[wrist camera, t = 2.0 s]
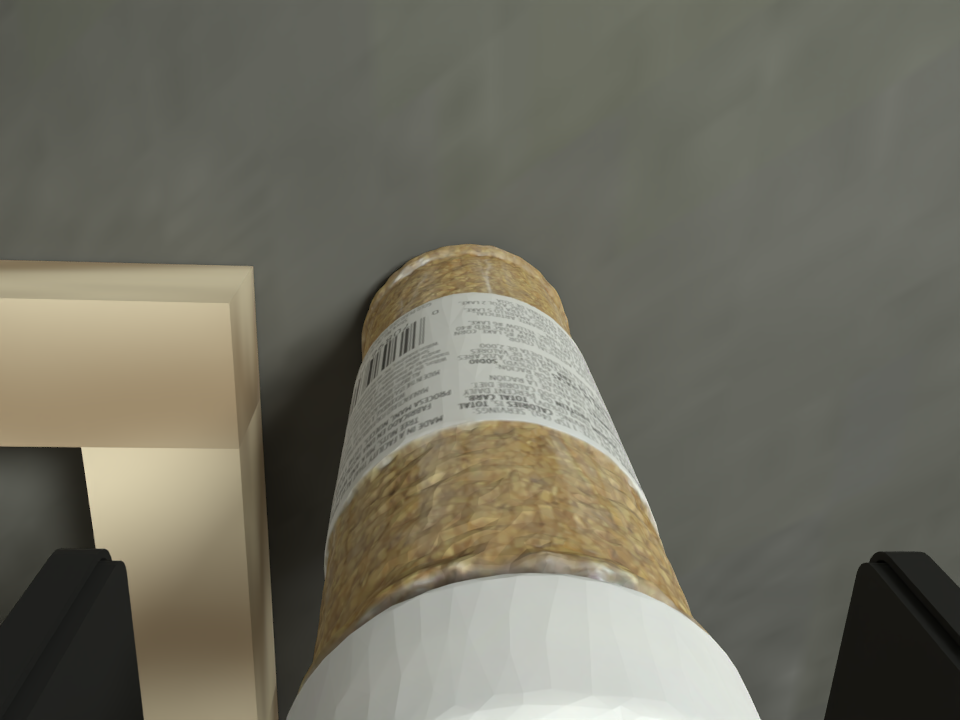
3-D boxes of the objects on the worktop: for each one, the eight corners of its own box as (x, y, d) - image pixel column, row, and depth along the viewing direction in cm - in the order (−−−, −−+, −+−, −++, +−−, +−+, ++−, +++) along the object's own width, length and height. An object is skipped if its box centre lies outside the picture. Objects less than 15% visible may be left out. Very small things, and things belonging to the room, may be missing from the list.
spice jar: (451, 467, 20) (493, 1199, 8) (316, 325, 19) (109, 954, 6) (611, 349, 19) (939, 968, 7) (483, 190, 18) (613, 619, 6)
